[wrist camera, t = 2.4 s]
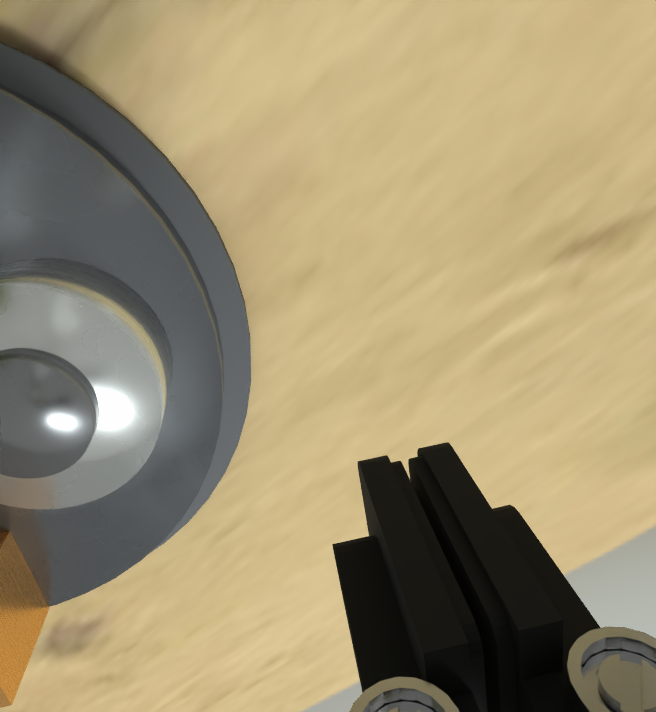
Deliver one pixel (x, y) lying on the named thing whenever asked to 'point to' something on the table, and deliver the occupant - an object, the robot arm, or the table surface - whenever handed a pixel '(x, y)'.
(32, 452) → the cover
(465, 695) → the robot arm
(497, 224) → the table surface
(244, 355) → the turntable base
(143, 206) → the turntable
